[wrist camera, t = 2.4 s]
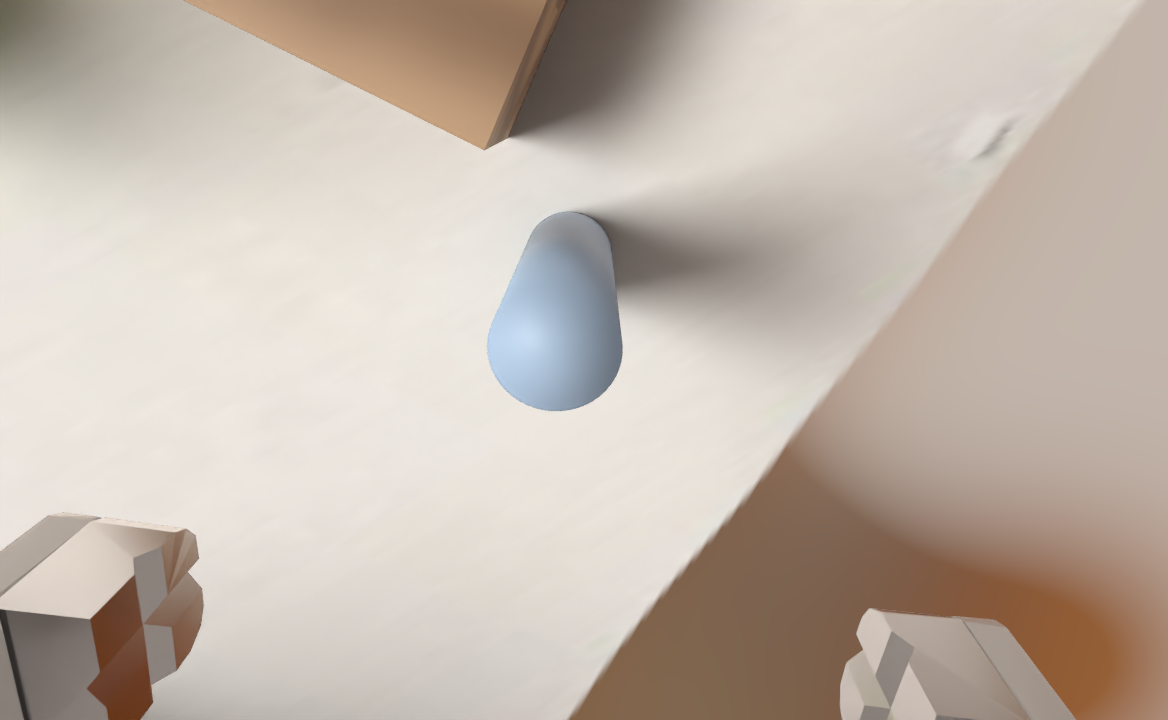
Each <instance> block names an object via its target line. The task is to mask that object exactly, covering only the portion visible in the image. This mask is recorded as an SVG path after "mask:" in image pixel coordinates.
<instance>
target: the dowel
mask: <svg viewBox="0 0 1168 720" xmlns="http://www.w3.org/2000/svg"><path fill="white" fill-rule="evenodd" d="M487 350H488V358H489V363H490V365H491V368H492V371H493V373H494V375H495V377H496V378H497V380H498V381H499V383H500V384H501V385H502V387H503V388H504V389H505V390H506V391H507V392H508V393H509V394H510V395H512V396H513V397H514V398H516V399H517V400H519V401H520V402H522V403H524V404H526V405H528V406H531V407H534V408H537V409H541V410H548V411H565V410H571V409H575V408H579V407H581V406H584V405H586V404H588V403H590V402H592V401H593V400H595V399H596V398H598V397H599V396H600V395H601V394H602V393H604V392H605V391H606V390H607V388H608V387H609V386H610V385H611V383H612V382H613V380H614V379H615V377H616V375H617V373H618V370H619V367H620V364H621V359H622V337H621V328H620V320H619V311H618V303H617V294H616V286H615V277H614V269H613V260H612V252H611V245H610V241H609V239H608V236H607V234H606V233H605V231H604V230H603V228H602V227H601V226H600V225H599V224H598V223H597V222H596V221H594V220H593V219H591V218H590V217H588V216H586V215H583V214H580V213H575V212H562V213H557V214H554V215H552V216H549V217H548V218H546V219H544V220H543V221H542V222H540V223H539V224H538V226H537V227H536V228H535V229H534V231H533V232H532V234H531V236H530V238H529V240H528V242H527V245H526V247H525V249H524V252H523V254H522V256H521V258H520V261H519V263H518V265H517V267H516V270H515V272H514V274H513V277H512V279H511V281H510V283H509V286H508V288H507V290H506V292H505V295H504V297H503V299H502V301H501V304H500V306H499V308H498V311H497V313H496V315H495V317H494V320H493V322H492V325H491V327H490V330H489V335H488V342H487Z"/></svg>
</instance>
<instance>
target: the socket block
mask: <svg viewBox="0 0 1168 720" xmlns="http://www.w3.org/2000/svg"><path fill="white" fill-rule="evenodd" d="M184 1H186V2H188V3H190V4H192V5H194V6H196V7H198V8H200V9H202V10H204V11H206V12H208V13H210V14H212V15H214V16H216V17H218V18H220V19H222V20H224V21H226V22H228V23H230V24H232V25H234V26H236V27H238V28H240V29H242V30H244V31H246V32H248V33H250V34H252V35H254V36H256V37H258V38H260V39H262V40H264V41H266V42H268V43H270V44H272V45H274V46H276V47H278V48H280V49H282V50H284V51H286V52H288V53H290V54H292V55H294V56H296V57H298V58H300V59H302V60H304V61H306V62H308V63H310V64H312V65H314V66H316V67H318V68H320V69H322V70H324V71H326V72H328V73H330V74H332V75H334V76H336V77H338V78H340V79H342V80H344V81H346V82H348V83H350V84H352V85H354V86H356V87H358V88H360V89H362V90H364V91H366V92H368V93H370V94H372V95H374V96H376V97H378V98H380V99H383V100H385V101H387V102H389V103H391V104H393V105H395V106H397V107H399V108H401V109H403V110H405V111H407V112H409V113H411V114H413V115H415V116H417V117H419V118H421V119H423V120H425V121H427V122H429V123H431V124H433V125H435V126H437V127H439V128H441V129H443V130H445V131H447V132H449V133H451V134H453V135H455V136H457V137H459V138H461V139H463V140H465V141H467V142H469V143H471V144H473V145H475V146H477V147H479V148H481V149H483V150H486V149H487V148H489V147H491V146H493V145H495V144H497V143H499V142H501V141H503V140H505V139H507V138H508V136H509V134H510V131H511V129H512V127H513V124H514V122H515V120H516V117H517V115H518V113H519V110H520V108H521V106H522V103H523V101H524V99H525V96H526V94H527V92H528V89H529V87H530V85H531V82H532V80H533V77H534V75H535V73H536V70H537V68H538V66H539V63H540V61H541V59H542V56H543V54H544V52H545V49H546V47H547V45H548V42H549V40H550V38H551V35H552V33H553V31H554V28H555V26H556V24H557V21H558V19H559V17H560V14H561V12H562V10H563V7H564V5H565V3H566V0H184Z"/></svg>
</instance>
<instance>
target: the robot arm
mask: <svg viewBox="0 0 1168 720" xmlns="http://www.w3.org/2000/svg"><path fill="white" fill-rule="evenodd" d="M198 559H199V555H198V548H197V542H196V535H194V534H193V533H192V532H190V531H189V530H187V529H185V528H178V527H171V526H164V525H156V524H149V523H142V522H135V521H128V520H120V519H113V518H106V517H105V518H100V517H95V516H87V515H79V514H72V513H64V512H63V513H58V514H54V515H49V516H47V517H45V518H44V519H43V520H41V521H40V522H39V523H37V524H36V525H35V526H33V527H32V528H31V529H29V530H28V531H27V532H25V533H24V534H23V535H22V536H20V537H19V538H18V539H16V540H15V541H14V542H12V543H11V544H10V545H8V546H7V547H6V548H4V549H3V550H2V551H0V720H140V719H141V718H142V717H143V715H144V714H145V713H146V711H147V710H148V709H149V707H150V706H151V705H152V703H153V697H152V687H151V685H152V684H153V683H155V682H157V681H159V680H161V679H162V678H164V677H166V676H168V675H169V674H171V673H173V672H175V671H177V669H178V668H179V666H180V665H181V664H182V662H183V661H184V659H185V658H186V657H187V655H188V654H189V652H190V651H191V649H192V646H193V644H194V641H195V639H196V636H197V634H198V631H199V629H200V626H201V621H202V613H203V606H204V605H203V593H202V588H201V587H200V586H199V585H198V583H197V582H196V581H195V580H194V579H193V578H192V576H191V575H190V574H189V573H188V571H189V570H190V568H191V567H192V566H193V565H194V564H195V563H196V561H197V560H198ZM856 634H857V637H858V639H859V641H860V643H861V646H862V648H863V650H862V651H861V652H860V653H859V654H857V655H856V656H855V657H853V658H852V659H850V660H849V661H848V662H847V663H846V666H845V670H844V673H843V677H842V680H841V684H840V710H841V715H842V720H1076V719H1075V718H1074V716H1073V715H1072V714H1071V712H1070V711H1069V710H1068V708H1067V707H1066V706H1065V704H1064V703H1063V702H1062V701H1061V699H1060V698H1059V696H1058V695H1057V694H1056V692H1055V691H1054V690H1053V689H1052V687H1051V686H1050V684H1049V683H1048V682H1047V680H1046V679H1045V678H1044V676H1043V675H1042V674H1041V672H1040V671H1039V670H1038V669H1037V667H1036V666H1035V665H1034V663H1033V662H1032V661H1031V659H1030V658H1029V657H1028V655H1027V654H1026V653H1025V651H1024V650H1023V649H1022V647H1021V646H1020V645H1019V643H1018V642H1017V641H1016V639H1015V638H1014V637H1013V636H1012V634H1011V633H1010V631H1009V630H1008V629H1007V628H1006V627H1005V626H1004V625H1002V624H1000V623H999V622H997V621H996V620H992V619H981V618H969V617H959V616H952V617H946V616H937V615H928V614H919V613H910V612H900V611H891V610H882V609H873V608H870V609H869V610H868V611H867V612H866V613H865V614H864V616H863V617H862V619H861V622H860V624H859V627H858V630H857V633H856Z"/></svg>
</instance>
